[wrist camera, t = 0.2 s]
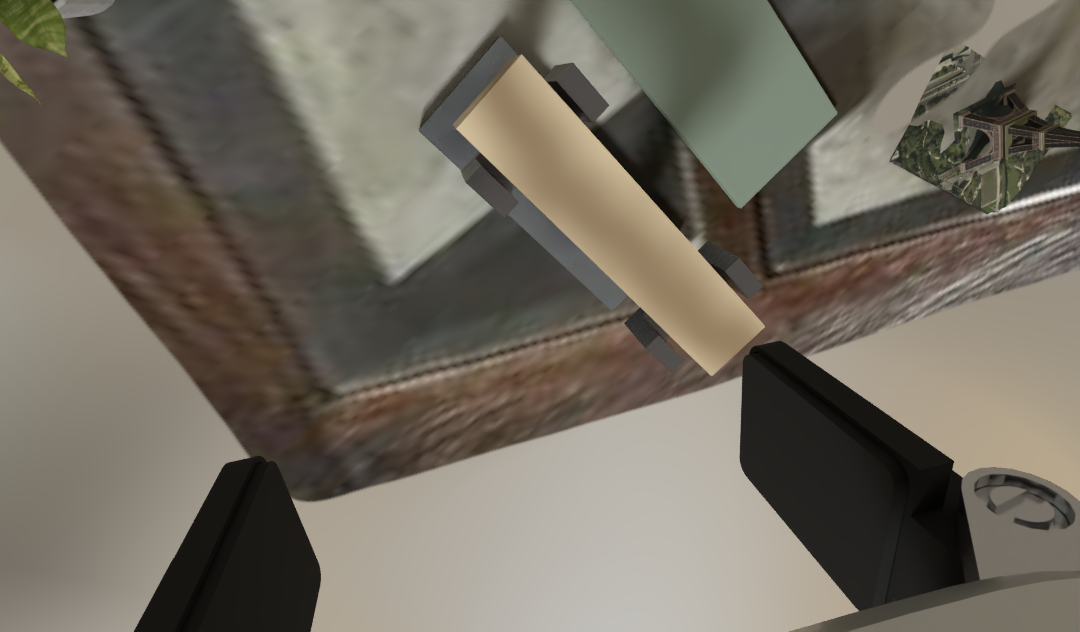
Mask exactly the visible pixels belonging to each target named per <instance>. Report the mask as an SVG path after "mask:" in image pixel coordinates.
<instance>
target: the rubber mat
mask: <svg viewBox="0 0 1080 632" xmlns="http://www.w3.org/2000/svg"><path fill="white" fill-rule="evenodd" d="M571 1H572V3H573V4H574V5H575V6H576V8H577V9H578V10H579V11H580V13H581V14H582V15H583V16H584V18H585V19H586V20H587V21H588V23H589V24H590V25H591V26H592V28H593V29H594V30H595V31H596V33H597V34H598V35H599V36H600V37H601V39H602V40H603V41H604V42H605V44H606V45H607V46H608V47H609V49H610V50H611V51H612V52H613V54H614V55H615V56H616V57H617V59H618V60H619V61H620V62H621V64H622V65H623V66H624V67H625V69H626V70H627V71H628V72H629V74H630V75H631V76H632V77H633V78H634V80H635V81H636V82H637V83H638V85H639V86H640V87H641V88H642V90H643V91H644V92H645V93H646V95H647V96H648V97H649V98H650V100H651V101H652V102H653V103H654V105H655V106H656V107H657V108H658V110H659V111H660V112H661V113H662V114H663V116H664V117H665V118H666V119H667V121H668V122H669V123H670V124H671V126H672V127H673V128H674V129H675V131H676V132H677V133H678V134H679V136H680V137H681V138H682V139H683V141H684V142H685V143H686V144H687V146H688V147H689V148H690V149H691V151H692V152H693V153H694V154H695V155H696V157H697V158H698V159H699V160H700V162H701V163H702V164H703V165H704V167H705V168H706V169H707V170H708V172H709V173H710V174H711V175H712V177H713V178H714V179H715V180H716V182H717V183H718V184H719V185H720V187H721V188H722V189H723V190H724V191H725V193H726V194H727V195H728V196H729V198H730V199H731V200H732V201H733V203H734V204H735V205H736V206H737V207H738V208H742V207H743V206H744V205H745V204H746V203H747V202H748V201H749V200H750V199H751V198H752V197H753V196H754V195H755V194H756V193H757V192H758V191H759V190H760V189H761V188H762V187H763V186H764V185H765V184H766V183H767V182H768V181H769V180H770V179H771V178H772V177H773V176H774V175H776V174H777V173H778V172H779V171H780V170H781V169H782V168H783V167H784V166H785V165H786V164H787V163H788V162H789V161H790V160H791V159H792V158H793V157H794V156H795V155H796V154H797V153H798V152H799V151H800V150H801V149H802V148H803V147H804V146H805V145H806V144H807V143H808V142H809V141H810V140H811V139H812V138H813V137H814V136H815V135H816V134H817V133H818V132H819V131H820V130H821V129H822V128H823V127H824V126H825V125H826V124H827V123H828V122H829V121H830V120H831V119H832V118H834V117H835V116H836V115H837V114H838V113H837V111H836V110H835V108H834V106H833V105H832V103H831V102H830V100H829V98H828V97H827V95H826V94H825V92H824V90H823V89H822V87H821V86H820V84H819V82H818V81H817V79H816V78H815V76H814V74H813V73H812V71H811V70H810V68H809V66H808V65H807V63H806V62H805V60H804V58H803V57H802V55H801V54H800V52H799V50H798V49H797V47H796V46H795V44H794V42H793V41H792V39H791V37H790V36H789V34H788V33H787V31H786V29H785V28H784V26H783V25H782V23H781V21H780V20H779V18H778V17H777V15H776V13H775V12H774V10H773V9H772V7H771V5H770V4H769V2H768V1H767V0H571Z"/></svg>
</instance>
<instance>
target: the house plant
mask: <svg viewBox="0 0 1080 632" xmlns="http://www.w3.org/2000/svg"><path fill="white" fill-rule="evenodd" d="M114 1H115V0H0V21H1V22H2V23H3V24H4V25H5V26H6V27H7V28H8V29H9V30H10V31H11V32H12V33H13V34H14V36H15V37H16V38H17V39H19V40H20V41H22V42H24V43H26V44H28V45H30V46H34V47H37V48H41V49H44V50H48V51H51V52H55V53H58V54H61V55H63V56H65V57H67V58H68V56H67V54H66V52H65V32H66V26H65V24H64V21H63V18H71V17H80V16H89V15H94V14H97V13H100V12H103V11H105V10H106V9H107V8H108V7H110V6H111V5H112V4H113V3H114ZM0 72H1V73H2V74H3V75H4V76H5V77H6V78H7V79H8V80H9V81H10V82H11V83H13V84H14V85H15V86H16V87H18V88H20V89H21V90H23V91H25V92H26V93H28V94H30V95H31V96H33V97H35V98H36V99H37V97H36V96H35V94H34V93H33V92H32V90H31V89H30V88H29V87H28V86H27V85H26V83H25V82H24V81H23V80H22V79H21V77H20V76H19V75H18V74H17V72H16V71H15V70H14V69H13V67H12V66H11V65H10V64H9V62H8V61H7V60H6V59H5V58H4V57H3V55H2V54H1V53H0ZM37 100H38V99H37ZM38 101H39V100H38ZM39 103H40V102H39Z"/></svg>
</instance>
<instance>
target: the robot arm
mask: <svg viewBox="0 0 1080 632" xmlns="http://www.w3.org/2000/svg"><path fill="white" fill-rule="evenodd" d="M741 407H742V408H741V435H740V463H741V467H742V470H743V472H744V474H745V475H746V476H747V477H748V479H749V480H750V481H751V482H752V484H753V485H754V486H755V487H756V489H757V490H758V491H759V492H760V493H761V495H763V497H764V498H765V499H766V501H767V502H768V503H769V504H770V505H771V506H772V508H773V509H774V510H775V511H776V512H777V514H778V515H779V516H780V517H781V518H782V520H783V521H784V522H785V523H786V524H787V526H788V527H789V528H790V529H791V530H792V532H793V533H794V534H795V535H796V536H797V538H798V539H799V540H800V541H801V542H802V543H803V545H804V546H805V547H806V548H807V550H808V551H809V552H810V553H811V554H812V556H813V557H814V558H815V559H816V560H817V562H819V564H820V565H821V566H822V568H823V569H824V570H825V571H826V572H827V574H828V575H829V576H830V577H831V578H832V580H833V581H834V582H835V583H836V584H837V586H838V587H839V588H840V589H841V590H842V592H843V593H844V594H845V595H846V596H847V598H848V599H849V600H850V601H851V602H852V604H853V605H854V606H855V607H856V608H857V609H858V610H859V611H858V612H855V613H852V614H848V615H845V616H841V617H838V618H835V619H831V620H828V621H824V622H821V623H818V624H814V625H811V626H808V627H804V628H800V629H797V630H793V631H790V632H1080V501H1078V500H1077V499H1076V498H1075V497H1074V496H1072V495H1071V494H1070V493H1069V492H1068V491H1066V490H1064V489H1062V488H1061V487H1059V486H1057V485H1055V484H1054V483H1052V482H1050V481H1048V480H1045V479H1042V478H1040V477H1037V476H1035V475H1032V474H1029V473H1025V472H1021V471H1017V470H1013V469H1006V468H996V467H991V468H980V469H977V470H974V471H971V472H969V473H968V474H967V475H966V476H965V477H964V478H962V477H961V476H960V475H958V474H957V473H955V472H954V471H953V470H952V468H953V463H954V461H953V460H952V459H950V458H949V457H947V456H946V455H944V454H943V453H942V452H940V451H939V450H937V449H936V448H934V447H933V446H932V445H930V444H929V443H927V442H926V441H924V440H923V439H922V438H920V437H919V436H917V435H916V434H914V433H913V432H912V431H910V430H908V429H907V428H906V427H904V426H903V425H902V424H900V423H899V422H897V421H896V420H894V419H893V418H891V417H890V416H889V415H887V414H886V413H884V412H883V411H882V410H880V409H879V408H877V407H876V406H874V405H873V404H871V403H870V402H868V401H867V400H866V399H864V398H863V397H862V396H860V395H859V394H857V393H856V392H854V391H853V390H851V389H850V388H849V387H847V386H846V385H844V384H843V383H841V382H840V381H839V380H837V379H836V378H834V377H833V376H832V375H830V374H829V373H827V372H826V371H824V370H823V369H821V368H820V367H819V366H817V365H816V364H814V363H813V362H811V361H810V360H809V359H807V358H806V357H804V356H803V355H801V354H800V353H799V352H797V351H796V350H794V349H793V348H791V347H790V346H789V345H787V344H786V343H784V342H782V341H777V342H772V343H767V344H763V345H758V346H754V347H753V348H751V350H750V353H749V355H746V356H745V357H744V359H743V376H742V406H741ZM320 582H321V573H320V566H319V563H318V561H317V558H316V556H315V553H314V551H313V549H312V546H311V544H310V542H309V539H308V537H307V534H306V532H305V530H304V527H303V525H302V523H301V520H300V518H299V516H298V513H297V511H296V508H295V506H294V504H293V501H292V499H291V496H290V494H289V492H288V489H287V487H286V485H285V482H284V480H283V477H282V475H281V473H280V470H279V468H278V466H277V464H276V463H275V462H273V461H270V462H266V460H265V459H264V458H263V457H261V456H256V457H252V458H247V459H243V460H239V461H234V462H229V463H227V464H225V465H224V467H223V468H222V470H221V472H220V473H219V475H218V477H217V479H216V481H215V483H214V485H213V487H212V488H211V490H210V492H209V494H208V496H207V498H206V500H205V501H204V503H203V505H202V507H201V509H200V511H199V513H198V514H197V516H196V518H195V520H194V522H193V524H192V526H191V527H190V529H189V531H188V533H187V535H186V537H185V539H184V541H183V543H182V544H181V546H180V548H179V550H178V552H177V554H176V555H175V557H174V559H173V560H172V562H171V563H170V565H169V567H168V569H167V571H166V573H165V575H164V577H163V579H162V580H161V582H160V584H159V586H158V588H157V589H156V591H155V593H154V595H153V597H152V599H151V601H150V603H149V605H148V606H147V608H146V610H145V612H144V614H143V616H142V617H141V619H140V621H139V623H138V625H137V627H136V628H135V630H134V632H310V631H311V626H312V622H313V617H314V612H315V607H316V603H317V598H318V593H319V588H320Z"/></svg>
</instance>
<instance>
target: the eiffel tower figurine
mask: <svg viewBox="0 0 1080 632" xmlns="http://www.w3.org/2000/svg"><path fill="white" fill-rule="evenodd" d="M983 59H984V57H983V56H981V55H979V54H978V53H976V52H975V51H973V50H972V49H970V48H969V47H967V46H966V45H964V44H963V43H961V44H959V45H957V46H955V47H953V48H952V49H949V50H948V51H945V53H944V55H943V57H942V59H941V60H940V63H939V64H938V66H937V68H936V70H935V72H934V74H933V76H932V78H931V79H930V81H929V83H928V85H927V87H926V89H925V91H924V93H923V95H922V97H921V99H920V101H919V103H918V106H917V108H916V110H915V113H914V115H913V117H912V119H911V121H913V120H915V119H916V118H918V117H920V116H921V115H922V114H925V113H926V112H927V111H929V110H931V109H932V108H934V107H936V106H937V105H938V104H940V103H942V102H943V101H944V100H946V99H947V98H949V97H950V96H951V95H953V94H954V93H955V92H956V91H957V90H958V89H959V88H961V87H962V86H963V85H964V84H965V83H966V81H967V80H968V79H969V78H970V76H971V75H972V74H973V73H974V71H975V70H976V69H977V67H978V66H979V65H980V63H981V62H982V60H983ZM953 115H954V132H955V140H954V142H953V143H952V144H951V145H950V146H949V147H948V148H947V149H946V150H945V151H943V152H942V153H941V154H940V146H941V142H942V139H943V135H944V129H943V126H942V124H939V123H936V122H933V121H931V120H928V121H926V122H924V123H923V124H921V125H920V126H911V125H909V126H908V128H907V130H906V132H905V134H904V136H903V138H902V140H901V142H900V144H899V146H898V148H897V150H896V152H895V153H894V155H893V157H892V159H891V161H890V162H892V163H894V164H896V165H898V166H900V167H902V168H903V169H905V170H907V171H909V172H910V173H912V174H914V175H916V176H918V177H920V178H921V179H923V180H925V181H927V182H929V183H931V184H933V185H935V186H937V187H939V188H941V189H943V190H945V191H947V192H948V193H950V194H952V195H954V196H956V197H958V198H960V199H961V200H963V201H965V202H967V203H969V204H971V205H972V206H974V207H976V208H978V209H979V210H981V211H983V212H984V213H986V214H989V213H991V212H999V211H1000V209H1001V208H1004V207H1006V206H1007V205H1008V203H1009V202H1010V201H1011V200H1012V199H1013V198H1014V197H1015V196H1016V195H1017V194H1018V193H1019V191H1020V190H1021V188H1022V187H1023V186H1024V184H1025V183H1026V181H1027V180H1028V178H1029V177H1030V176H1031V174H1032V173H1033V171H1034V170H1035V168H1036V167H1037V165H1038V164H1039V163H1040V161H1041V160H1042V158H1043V157H1044V155H1045V154H1046V153H1047V151H1048V150H1049V148H1057V147H1080V131H1075V130H1070V129H1066V128H1064V127H1065V126H1066V124H1067V123H1068V121H1069V120H1070V118H1071V117H1072V116H1071V115H1070V114H1068V113H1067V112H1065V111H1064V110H1062V109H1061V108H1059V107H1058V106H1056V105H1055V106H1054V107H1053V109H1052V110H1051V112H1050V113H1049V115H1048V116H1047V118H1046V119H1045V120H1042V119H1040V118H1039V117H1037V111H1034V110H1029V109H1028V108H1027V107H1026V105H1025V104H1024V103H1023V101H1022V100H1021V99H1020V98H1019V96H1018V95H1017V94H1016V83H1015V84H1013V85H1011V86H1009V87H1007V88H1005V89H1004V86H1003V83H1002V81H999V82H996V83H995V84H994V86H993V87H992V89H991V90H990V92H989V93H988V95H987V96H986V98H985V99H983V100H981V101H979V102H977V103H975V104H973V105H970V106H968V107H966V108H964V109H962V110H960V111H958V112H956V113H954V114H953ZM1016 136H1017V138H1016Z"/></svg>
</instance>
